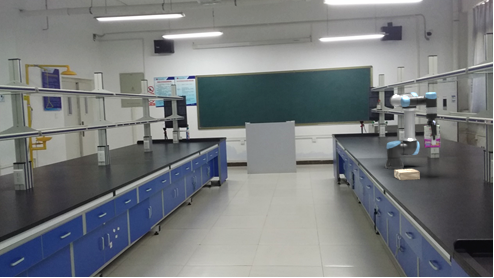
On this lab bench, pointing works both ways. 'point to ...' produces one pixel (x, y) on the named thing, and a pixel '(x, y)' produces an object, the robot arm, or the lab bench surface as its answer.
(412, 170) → the birch block
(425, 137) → the candy bar box
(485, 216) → the lab bench surface
